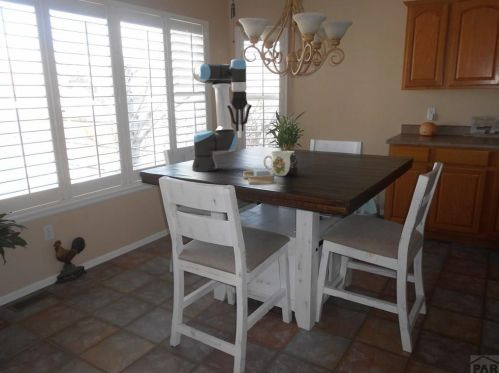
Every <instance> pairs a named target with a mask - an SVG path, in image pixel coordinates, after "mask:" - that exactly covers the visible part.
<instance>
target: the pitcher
mask: <svg viewBox="0 0 499 373" xmlns="http://www.w3.org/2000/svg"><path fill="white" fill-rule="evenodd" d="M294 153H295V151H293V150H275V151H271V155H265V156H264V159H263V166H264V168H266V169H267V170H269V171H272V172H273V173H272V174H273V175H274V176H276V177H277V176H278V177H283V176H287V174H289V171H290V168H291V159H290V158H291V156H292V154H294ZM267 158H269V159H270V166H271V167H269V166H268V165H267V163H266V160H267Z"/></svg>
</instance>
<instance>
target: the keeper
mask: <svg viewBox="0 0 499 373" xmlns="http://www.w3.org/2000/svg"><path fill="white" fill-rule="evenodd" d="M253 171H254V176H263V175H269V172H270V170H268V169H267V168H266V167H264V168H254V169H253Z"/></svg>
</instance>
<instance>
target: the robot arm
mask: <svg viewBox="0 0 499 373" xmlns="http://www.w3.org/2000/svg"><path fill="white" fill-rule="evenodd" d="M246 61H247V60H245V59H243V58H242V59H241V58H235V59H232V60H231V61H230V64H228V63H227V64H226V63H201V64H198V65H196V66H195V67H194V69H193V70H192V71H193V72H192V76H193V78H194V80H196V81H197V82H199V83H201V84H211V86H212V89H214V93H215V94H214V95H215V96H214V98H215V110H216V124H217V125H216V126H217V128H216V129H215V133H214V132H213V131H212V130H207V131H205V130H204V131H201V132H196V133H194V135H193V144H194V145H193V151H194V153H193V154H194V158H193V162H192V165H191V169H192V171H194V172H203V173H204V172H212V171H216V170H217V167H218V166H217V163H216V160H215V157H214V153H223V152H225V153H226V152H234V151H235V150H236V149H237V145H238V138H240V139H241V138H242V134H243V133H242V132H243V131H244V126H245V124H247V123H248V119H249V115H250V110H251V108H252V104H249V103H248V101H247V91H246V90H247V63H246ZM230 87H231V101H230V92H229V91H230V90H229V89H230ZM245 107H246V110H245V115H244V109H245ZM232 108H233V109H234V112H235V113H234V112H233V109H232ZM234 115H235V116H234ZM239 115H240V116H239ZM239 118H240V120H239ZM239 121H240V122H239ZM232 124H233V125H235V129H234V128H233V127H232ZM235 131H236V132H235Z"/></svg>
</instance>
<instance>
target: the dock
mask: <svg viewBox="0 0 499 373" xmlns="http://www.w3.org/2000/svg"><path fill="white" fill-rule="evenodd" d="M242 174H243V175H242V179H243V180H248V185H260V184H261V185H264V184H274V183H275V174H274V173H272V172H270V171H269V175H263V176H254V170H244V171H242Z"/></svg>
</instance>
